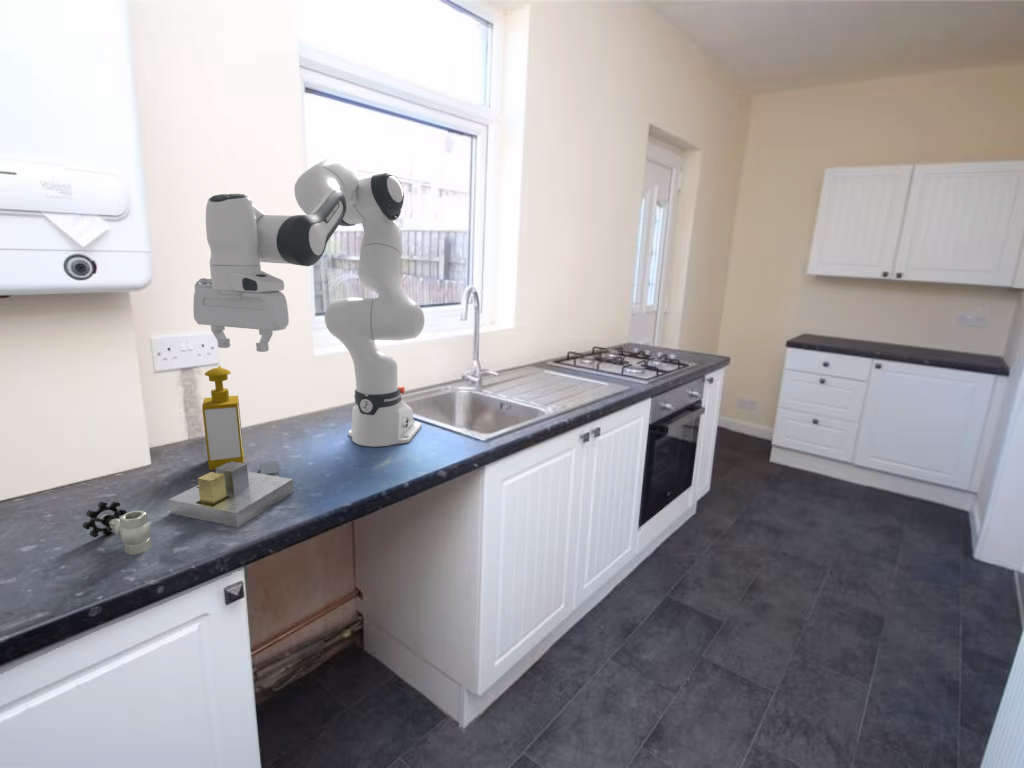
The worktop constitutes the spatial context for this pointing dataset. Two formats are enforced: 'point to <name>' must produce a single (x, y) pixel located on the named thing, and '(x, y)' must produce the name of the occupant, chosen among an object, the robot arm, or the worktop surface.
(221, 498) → the yellow rectangular block
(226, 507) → the square plinth with cube
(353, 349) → the robot arm
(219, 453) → the soap bottle
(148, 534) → the valve
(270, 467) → the bracket
